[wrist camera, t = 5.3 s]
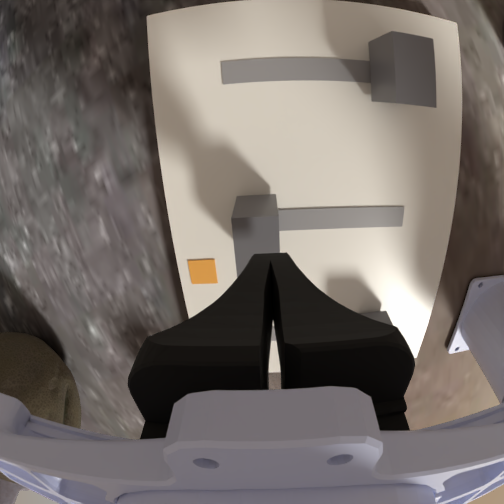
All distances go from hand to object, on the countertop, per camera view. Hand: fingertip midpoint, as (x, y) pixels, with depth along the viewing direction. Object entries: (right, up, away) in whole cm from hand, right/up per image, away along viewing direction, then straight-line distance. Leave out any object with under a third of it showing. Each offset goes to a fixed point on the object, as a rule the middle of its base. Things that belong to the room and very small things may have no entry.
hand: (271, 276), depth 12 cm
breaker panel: (+3, +4, +7) cm, 8 cm away
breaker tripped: (0, +2, +5) cm, 5 cm away
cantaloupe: (-23, -10, +15) cm, 29 cm away
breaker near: (+6, +10, +1) cm, 12 cm away
